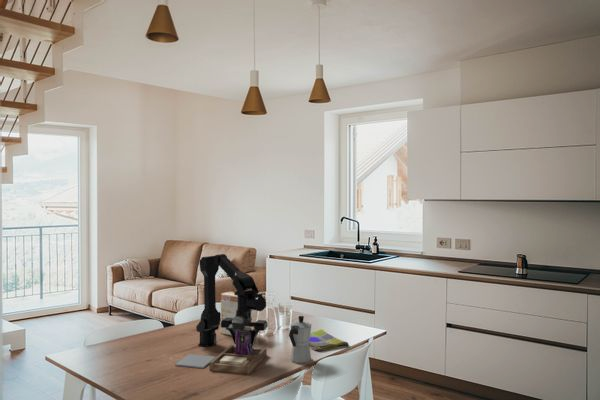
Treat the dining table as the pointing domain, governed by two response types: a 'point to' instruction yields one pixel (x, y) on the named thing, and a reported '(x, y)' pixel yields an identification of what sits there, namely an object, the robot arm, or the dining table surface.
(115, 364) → the dining table surface
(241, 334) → the beverage can
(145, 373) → the dining table surface
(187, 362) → the slate mat
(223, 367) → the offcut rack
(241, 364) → the offcut stack
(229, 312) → the coffeecake box
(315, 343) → the dish towel
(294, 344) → the coffee maker
